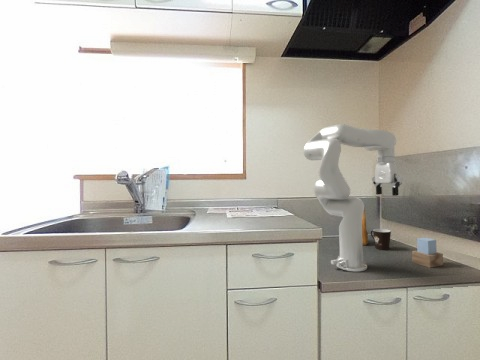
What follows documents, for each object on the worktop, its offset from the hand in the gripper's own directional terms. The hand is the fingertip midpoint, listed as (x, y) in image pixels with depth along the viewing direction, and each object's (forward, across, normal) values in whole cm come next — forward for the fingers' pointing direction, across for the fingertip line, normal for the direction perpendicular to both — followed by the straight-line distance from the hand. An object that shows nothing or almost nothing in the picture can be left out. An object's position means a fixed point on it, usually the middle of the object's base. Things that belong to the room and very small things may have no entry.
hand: (386, 194), depth 131 cm
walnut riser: (+30, +16, +5) cm, 35 cm away
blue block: (+25, +16, +5) cm, 30 cm away
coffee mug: (+31, -11, +7) cm, 33 cm away
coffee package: (+31, -24, +2) cm, 39 cm away
